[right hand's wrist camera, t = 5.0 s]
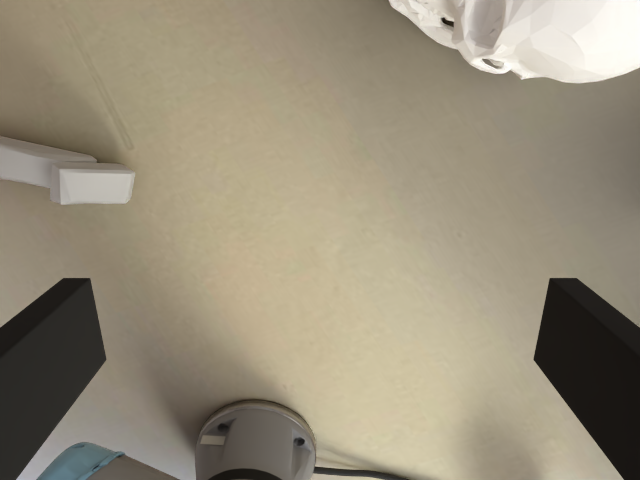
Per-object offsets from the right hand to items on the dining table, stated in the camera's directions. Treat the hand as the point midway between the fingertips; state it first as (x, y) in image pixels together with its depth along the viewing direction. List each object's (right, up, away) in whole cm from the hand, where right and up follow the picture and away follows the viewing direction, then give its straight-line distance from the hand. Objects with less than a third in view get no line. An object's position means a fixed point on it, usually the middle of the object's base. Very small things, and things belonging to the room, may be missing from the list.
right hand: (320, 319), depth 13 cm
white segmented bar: (-28, +11, +32) cm, 44 cm away
